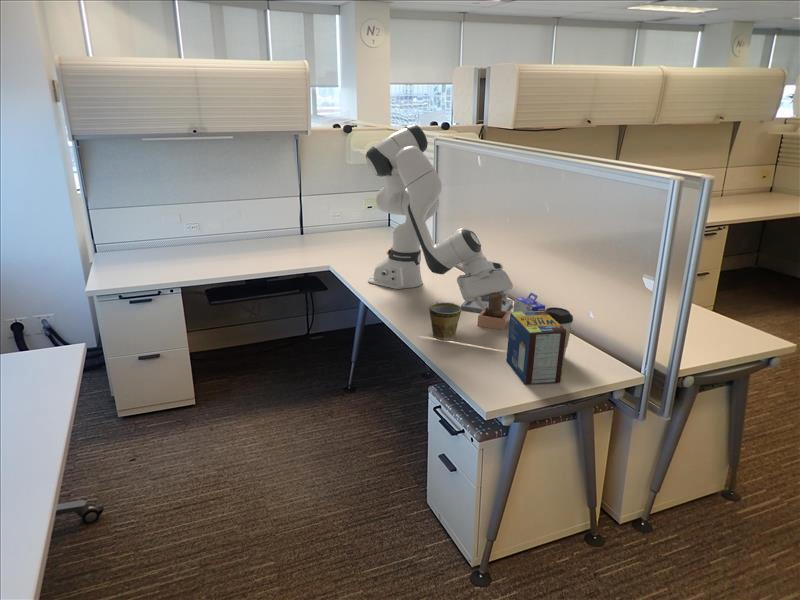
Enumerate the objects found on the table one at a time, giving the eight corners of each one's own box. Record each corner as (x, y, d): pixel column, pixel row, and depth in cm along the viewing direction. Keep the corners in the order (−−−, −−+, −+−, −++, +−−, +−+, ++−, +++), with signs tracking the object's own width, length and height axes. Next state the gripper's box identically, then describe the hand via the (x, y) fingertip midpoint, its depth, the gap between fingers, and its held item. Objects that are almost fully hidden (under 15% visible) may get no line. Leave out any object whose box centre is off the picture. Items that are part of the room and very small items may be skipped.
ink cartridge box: (542, 341, 181) (547, 298, 176) (527, 344, 179) (532, 300, 174) (524, 330, 189) (528, 288, 184) (510, 332, 187) (513, 290, 182)
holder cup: (477, 327, 191) (478, 316, 190) (483, 318, 199) (484, 307, 197) (503, 331, 188) (504, 320, 186) (509, 322, 196) (510, 311, 194)
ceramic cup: (464, 341, 180) (466, 311, 176) (434, 344, 177) (435, 314, 173) (449, 326, 191) (450, 298, 188) (421, 329, 189) (422, 300, 185)
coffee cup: (545, 348, 176) (550, 302, 171) (572, 356, 171) (579, 309, 166) (531, 357, 169) (536, 310, 164) (560, 366, 164) (566, 318, 159)
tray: (460, 310, 205) (460, 305, 204) (470, 299, 217) (471, 294, 217) (504, 317, 200) (504, 312, 199) (512, 305, 212) (512, 300, 211)
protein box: (538, 358, 169) (544, 309, 164) (560, 383, 155) (567, 330, 149) (505, 360, 167) (509, 311, 162) (524, 385, 153) (529, 332, 148)
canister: (485, 324, 192) (487, 296, 189) (488, 319, 196) (491, 292, 192) (498, 326, 190) (501, 298, 187) (501, 321, 194) (503, 294, 191)
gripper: (459, 271, 187) (477, 308, 183) (505, 263, 198) (523, 297, 193) (450, 281, 192) (467, 317, 188) (495, 272, 203) (512, 306, 198)
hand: (496, 307), depth 191 cm, fingers open, 8 cm apart
